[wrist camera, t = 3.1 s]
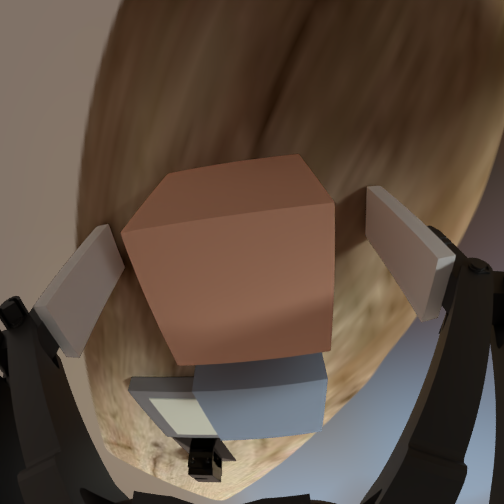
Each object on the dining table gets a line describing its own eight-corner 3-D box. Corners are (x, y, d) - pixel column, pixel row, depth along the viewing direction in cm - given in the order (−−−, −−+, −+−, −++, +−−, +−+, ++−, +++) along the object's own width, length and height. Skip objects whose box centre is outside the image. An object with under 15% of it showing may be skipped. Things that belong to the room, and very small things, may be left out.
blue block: (307, 293, 17) (327, 378, 12) (308, 357, 20) (321, 431, 15) (204, 305, 17) (191, 391, 12) (224, 366, 20) (221, 440, 15)
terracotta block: (298, 153, 13) (334, 202, 8) (306, 264, 16) (330, 350, 11) (168, 172, 13) (120, 232, 8) (196, 278, 16) (178, 365, 11)
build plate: (160, 426, 27) (154, 461, 23) (224, 426, 27) (223, 464, 23) (196, 461, 34) (194, 488, 30) (246, 460, 33) (247, 488, 29)
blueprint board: (254, 373, 21) (254, 389, 19) (266, 423, 25) (267, 436, 24) (131, 377, 21) (127, 391, 20) (168, 425, 26) (167, 437, 24)
